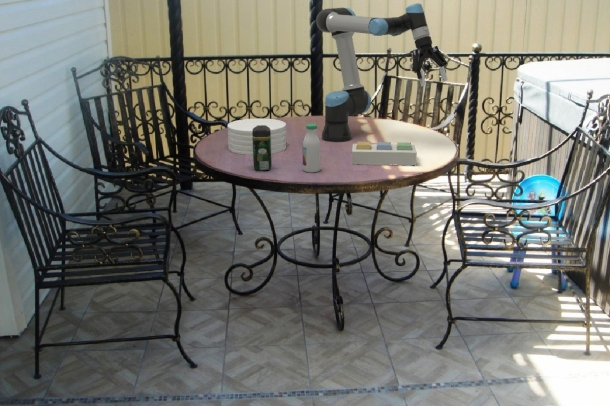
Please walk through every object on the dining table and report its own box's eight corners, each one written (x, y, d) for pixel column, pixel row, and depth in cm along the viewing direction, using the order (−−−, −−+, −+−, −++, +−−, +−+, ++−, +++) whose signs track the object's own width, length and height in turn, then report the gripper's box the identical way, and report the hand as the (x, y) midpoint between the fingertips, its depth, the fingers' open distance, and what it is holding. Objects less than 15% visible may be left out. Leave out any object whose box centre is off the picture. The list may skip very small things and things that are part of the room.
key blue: (377, 154, 293) (377, 145, 292) (377, 150, 299) (377, 141, 298) (390, 154, 293) (391, 145, 291) (390, 150, 298) (390, 142, 297)
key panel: (351, 164, 292) (352, 151, 290) (352, 156, 305) (352, 143, 303) (416, 165, 289) (416, 152, 287) (414, 157, 303) (414, 144, 301)
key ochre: (356, 153, 294) (357, 144, 293) (357, 150, 300) (357, 141, 298) (370, 153, 294) (370, 145, 292) (370, 150, 299) (370, 141, 298)
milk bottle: (322, 168, 286) (323, 123, 280) (317, 173, 279) (317, 127, 273) (306, 167, 289) (305, 122, 282) (300, 172, 282) (299, 125, 275)
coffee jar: (253, 165, 292) (252, 124, 285) (271, 165, 292) (270, 123, 286) (252, 171, 282) (251, 129, 276) (271, 171, 283) (270, 128, 277)
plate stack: (253, 138, 341) (252, 116, 337) (297, 145, 325) (297, 122, 321) (216, 149, 319) (215, 126, 315) (261, 158, 304) (261, 133, 300)
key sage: (397, 154, 293) (398, 145, 291) (397, 150, 298) (397, 142, 297) (411, 154, 292) (411, 145, 291) (410, 151, 298) (410, 142, 296)
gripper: (407, 38, 292) (419, 85, 292) (447, 32, 304) (459, 76, 305) (396, 44, 298) (409, 89, 299) (436, 37, 311) (448, 81, 312)
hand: (434, 83), depth 302 cm, fingers open, 13 cm apart
